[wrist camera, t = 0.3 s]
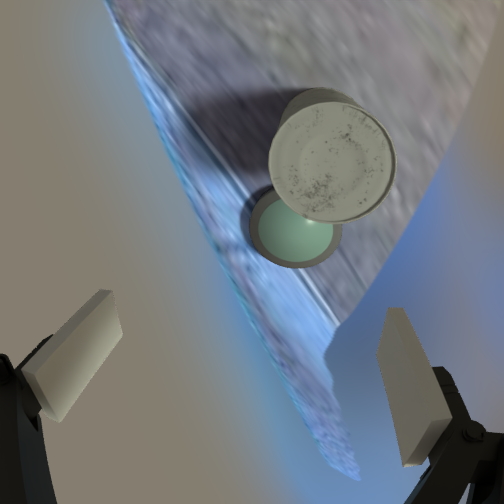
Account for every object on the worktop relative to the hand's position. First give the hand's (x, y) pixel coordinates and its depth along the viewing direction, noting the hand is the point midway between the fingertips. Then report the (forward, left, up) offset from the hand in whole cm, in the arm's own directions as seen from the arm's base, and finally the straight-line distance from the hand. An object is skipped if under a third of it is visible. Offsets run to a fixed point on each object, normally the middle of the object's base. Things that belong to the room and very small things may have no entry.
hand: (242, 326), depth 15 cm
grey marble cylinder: (-6, 0, -25) cm, 26 cm away
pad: (+3, +8, -25) cm, 26 cm away
